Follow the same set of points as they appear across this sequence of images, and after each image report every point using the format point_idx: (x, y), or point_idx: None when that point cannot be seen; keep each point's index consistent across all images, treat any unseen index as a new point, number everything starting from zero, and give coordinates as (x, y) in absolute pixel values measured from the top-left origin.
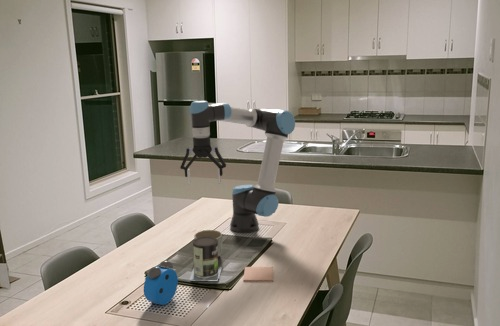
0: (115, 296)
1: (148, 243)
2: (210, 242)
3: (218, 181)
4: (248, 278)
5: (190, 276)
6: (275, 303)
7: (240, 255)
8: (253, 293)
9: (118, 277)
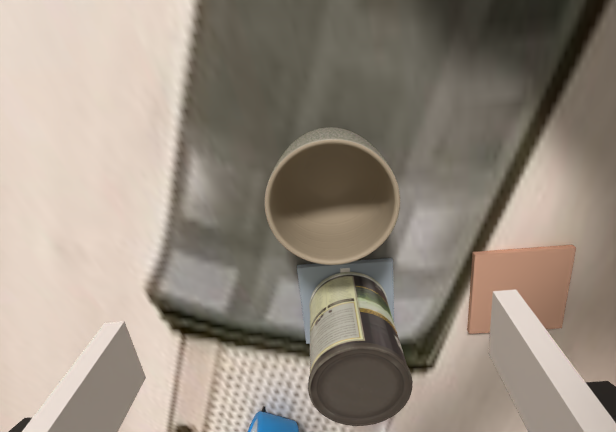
0: (145, 412)
1: (7, 43)
2: (383, 392)
3: (501, 373)
4: (485, 325)
5: (304, 325)
6: None
7: (454, 143)
8: (494, 381)
9: (88, 330)
